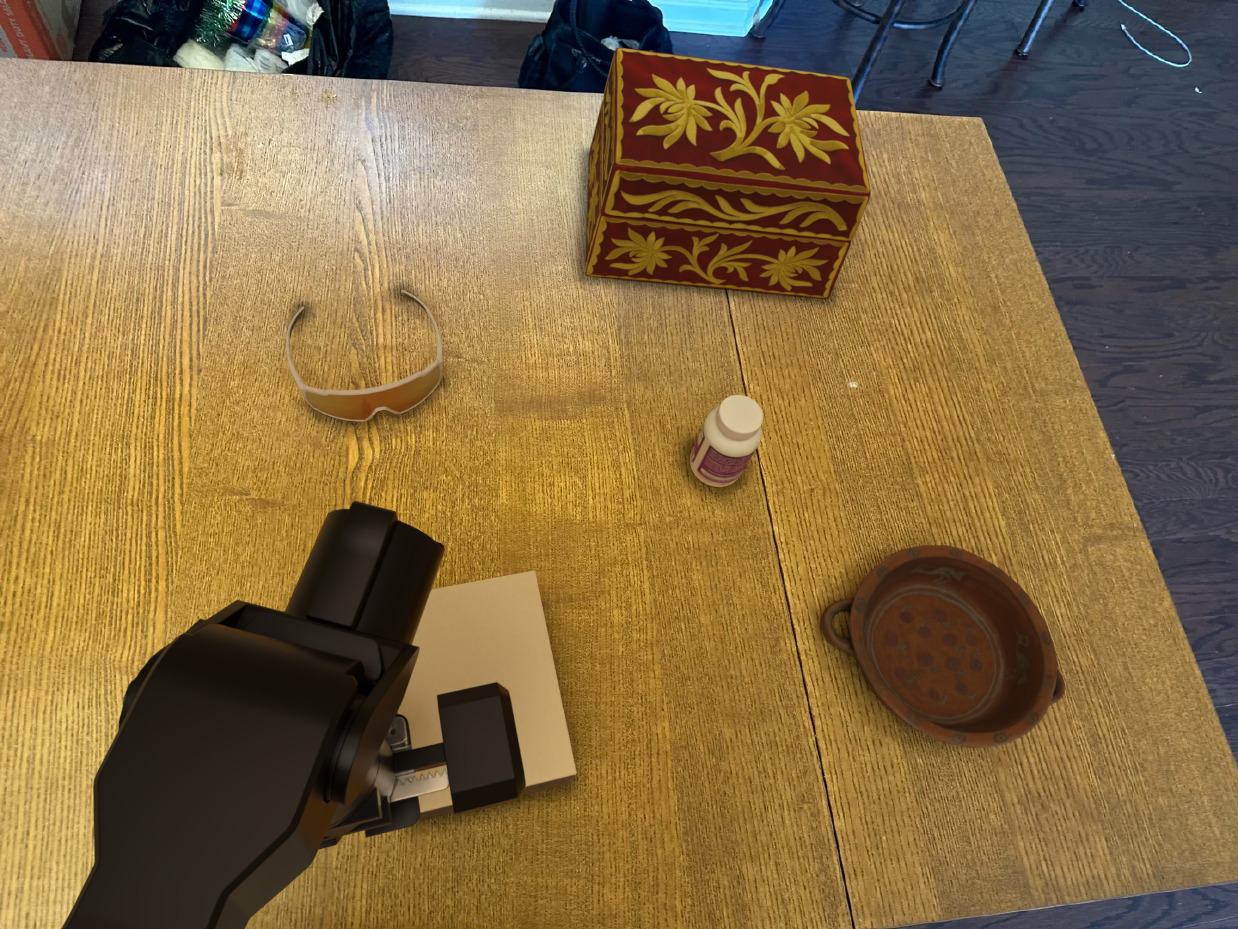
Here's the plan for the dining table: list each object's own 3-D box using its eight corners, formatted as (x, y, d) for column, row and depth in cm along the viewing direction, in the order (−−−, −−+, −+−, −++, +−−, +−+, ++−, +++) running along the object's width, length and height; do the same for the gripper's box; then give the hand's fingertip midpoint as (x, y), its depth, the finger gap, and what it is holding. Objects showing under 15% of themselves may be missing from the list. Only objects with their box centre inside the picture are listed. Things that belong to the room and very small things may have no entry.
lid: (384, 600, 62) (383, 598, 61) (534, 573, 64) (535, 569, 64) (411, 815, 56) (410, 815, 55) (575, 774, 58) (576, 773, 58)
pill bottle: (752, 474, 79) (783, 425, 71) (709, 497, 77) (735, 450, 69) (721, 431, 81) (747, 378, 72) (677, 453, 79) (700, 402, 70)
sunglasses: (306, 442, 74) (293, 408, 70) (285, 327, 82) (272, 290, 78) (459, 410, 78) (456, 375, 74) (426, 302, 85) (420, 266, 81)
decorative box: (584, 277, 87) (600, 169, 74) (588, 153, 96) (603, 37, 83) (829, 300, 91) (886, 201, 77) (811, 179, 99) (860, 71, 86)
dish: (821, 536, 77) (841, 515, 73) (1043, 594, 77) (1076, 577, 73) (802, 720, 69) (823, 709, 64) (1050, 784, 69) (1088, 778, 65)
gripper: (491, 556, 42) (491, 637, 55) (88, 629, 37) (197, 697, 51) (533, 782, 37) (522, 809, 51) (79, 894, 33) (201, 890, 47)
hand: (363, 794), depth 50 cm, fingers closed
